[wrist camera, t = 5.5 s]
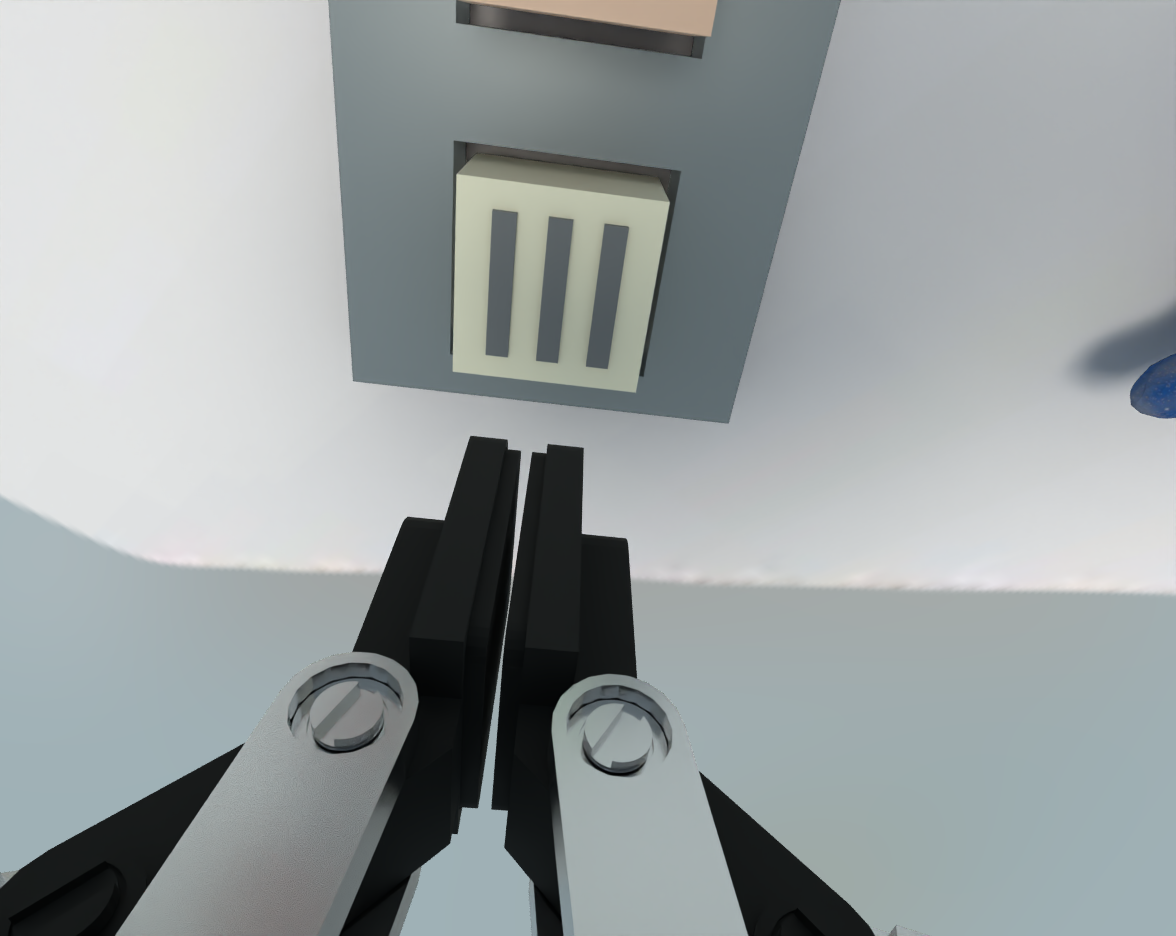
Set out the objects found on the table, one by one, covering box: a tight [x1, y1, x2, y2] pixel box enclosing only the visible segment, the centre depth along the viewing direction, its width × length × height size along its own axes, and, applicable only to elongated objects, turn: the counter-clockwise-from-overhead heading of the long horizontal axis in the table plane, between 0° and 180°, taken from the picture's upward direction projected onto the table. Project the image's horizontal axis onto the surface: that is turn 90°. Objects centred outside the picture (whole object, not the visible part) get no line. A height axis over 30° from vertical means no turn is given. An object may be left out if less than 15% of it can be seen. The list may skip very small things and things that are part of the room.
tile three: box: [453, 153, 670, 393], centre depth 22 cm, size 6×6×4 cm
